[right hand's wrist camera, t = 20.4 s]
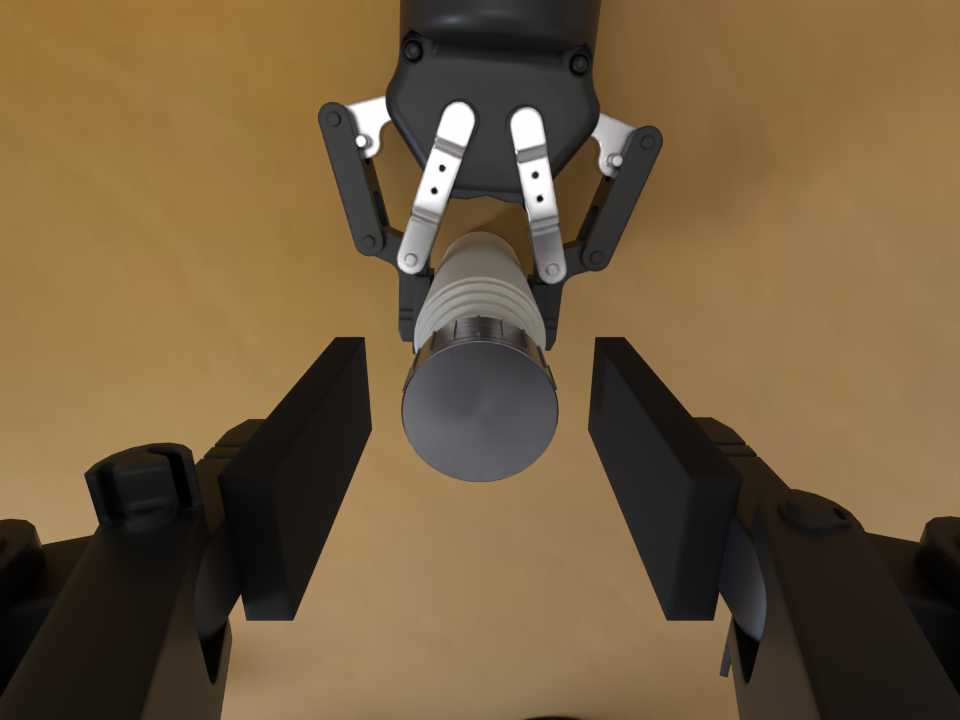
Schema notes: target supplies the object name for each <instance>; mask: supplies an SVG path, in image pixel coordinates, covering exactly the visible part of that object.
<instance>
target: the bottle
mask: <svg viewBox="0 0 960 720" xmlns="http://www.w3.org/2000/svg"><path fill="white" fill-rule="evenodd" d="M477 315H480V317H491V318H496V319H500V320H501V318H502V319H504V321H506V322H508V323H511V324H513V325H515V326H516V327H518V328H520V329H521V330H522V329H524V330H525V331H526V334H528V335H529V336H530V337H531V338H532V340H533V341H534V342H535V343H536V344H537V346H538V345H540V347H541V349H542V352H543V355H544V351H545V344H546V333H545V327H544V323H543V320H542V317H541V314H540V312H539V309H538V307H537V305H536V302H535V300H534V297H533V295H532V292H531V290H530V288H529V285H528V283H527V280H526V278H525V275H524V273H523V271H522V268H521V266H520V263H519V261H518V259H517V256H516V254H515V252H514V250H513V249H512V247H511V246H510V245H509V244H508V243H507V242H506V241H505V240H504V239H503V238H501V237H500V236H498V235H495V234H493V233H490V232H484V231H476V232H470V233H467V234H464V235H462V236H460V237H459V238H457V239H456V240H455V241H454V242H453V243H452V244H451V245H450V246H449V247H448V248H447V250H446V252H445V254H444V256H443V259H442V261H441V263H440V266H439V268H438V271H437V273H436V275H435V278H434V280H433V283H432V285H431V288H430V290H429V292H428V295H427V297H426V300H425V302H424V305H423V307H422V309H421V312H420V314H419V317H418V319H417V323H416V326H415V333H414V346H415V352H416V353H417V350H418V348H419V347H420V348H421V347H422V346H423V344H424V343H425V342H426V341H427V339H428V338H429V337H430V336H431V335H432V332H433V331H434V330H435V331H437V330H439V329H440V328H442V327H443V326H445V325H447V324H449V323H451V322H453V320H455V319H456V320H460V319H464V318H469V317H477Z"/></svg>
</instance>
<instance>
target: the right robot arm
mask: <svg viewBox="0 0 960 720" xmlns="http://www.w3.org/2000/svg"><path fill="white" fill-rule="evenodd" d="M371 431H372V423H371V411H370V399H369V386H368V374H367V362H366V350H365V337H335V339H334V340H333V341H332V342H331V343H330V345H329V346H328V347H327V348H326V349H325V350H324V352H323V353H322V354H321V355H320V356H319V357H318V359H317V360H316V361H315V362H314V363H313V364H312V366H311V367H310V368H309V369H308V370H307V372H306V373H305V374H304V375H303V376H302V377H301V379H300V380H299V381H298V382H297V383H296V384H295V386H294V387H293V388H292V389H291V390H290V391H289V393H288V394H287V395H286V396H285V397H284V399H283V400H282V401H281V402H280V403H279V404H278V406H277V407H276V408H275V409H274V410H273V411H272V413H271V414H270V415H269V416H268V417H267V418H266V419H248V420H246V421H245V422H243V423H241V424H239V425H237V426H236V427H234V428H232V429H230V430H229V431H227V432H226V433H225V434H224V435H223V436H222V437H221V439H220V440H219V441H218V442H217V443H216V444H215V447H212V448H211V449H210V450H209V451H208V452H207V453H206V454H205V455H204V459H200V460H199V461H198V463H197V464H196V465H195V464H194V459H193V455H192V450H190V449H189V448H187V447H186V446H184V445H181V444H175V443H153V444H147V445H142V446H138V447H133V448H130V449H127V450H124V451H121V452H118V453H115V454H113V455H111V456H109V457H107V458H105V459H103V460H101V461H99V462H98V463H96V464H94V465H93V466H92V467H91V468H90V469H89V470H88V471H87V472H86V473H85V474H84V476H85V479H86V482H87V485H88V489H89V492H90V495H91V498H92V501H93V505H94V508H95V511H96V514H97V518H98V521H99V526H98V528H97V530H96V531H95V533H94V535H91V536H86V537H81V538H75V539H70V540H65V541H60V542H55V543H49V544H44V545H41V542H40V539H39V536H38V534H37V531H36V528H35V526H34V525H33V524H31V523H30V522H28V521H27V520H18V519H6V520H0V720H220V719H221V712H222V705H223V699H224V692H225V685H226V679H227V672H228V665H229V659H230V652H231V645H232V633H231V627H230V622H229V618H228V616H229V614H230V612H231V610H232V609H233V607H234V605H235V603H236V602H237V600H238V598H239V596H240V594H241V596H242V601H243V606H244V610H245V615H246V620H247V621H293V620H294V617H295V615H296V612H297V610H298V608H299V605H300V603H301V600H302V598H303V595H304V593H305V591H306V588H307V586H308V583H309V581H310V578H311V576H312V574H313V571H314V569H315V566H316V564H317V562H318V559H319V557H320V554H321V552H322V549H323V547H324V545H325V542H326V540H327V537H328V535H329V532H330V530H331V528H332V525H333V523H334V520H335V518H336V515H337V513H338V511H339V508H340V506H341V503H342V501H343V499H344V496H345V494H346V491H347V489H348V486H349V484H350V482H351V479H352V477H353V474H354V472H355V469H356V467H357V465H358V462H359V460H360V457H361V455H362V452H363V450H364V448H365V445H366V443H367V440H368V438H369V436H370V433H371ZM588 431H589V433H590V436H591V438H592V440H593V443H594V445H595V448H596V450H597V452H598V455H599V457H600V460H601V462H602V465H603V467H604V469H605V472H606V474H607V477H608V479H609V482H610V484H611V486H612V489H613V491H614V494H615V496H616V499H617V501H618V503H619V506H620V508H621V511H622V513H623V515H624V518H625V520H626V523H627V525H628V528H629V530H630V532H631V535H632V537H633V540H634V542H635V545H636V547H637V549H638V552H639V554H640V557H641V559H642V562H643V564H644V566H645V569H646V571H647V574H648V576H649V578H650V581H651V583H652V586H653V588H654V591H655V593H656V595H657V598H658V600H659V603H660V605H661V608H662V610H663V612H664V615H665V617H666V620H667V621H713V620H714V615H715V610H716V606H717V601H718V596H719V592H720V593H721V595H722V597H723V599H724V601H725V602H726V604H727V606H728V608H729V609H730V611H731V613H732V618H731V622H730V627H729V631H728V636H727V640H726V645H725V649H724V654H723V658H722V663H721V670H720V676H724V677H728V673H729V668H730V665H731V664H732V671H733V677H734V684H735V691H736V697H737V704H738V710H739V717H740V720H960V518H959V517H952V516H948V517H937V518H933V519H932V520H931V521H929V522H928V523H926V525H925V528H924V531H923V534H922V536H921V539H920V542H913V541H908V540H903V539H898V538H893V537H887V536H882V535H877V534H872V533H868V532H865V530H864V529H863V527H862V525H861V523H860V522H859V521H858V520H857V519H856V518H855V517H854V516H853V515H852V513H851V512H849V511H848V510H846V509H845V508H843V507H842V506H840V505H839V504H837V503H835V502H833V501H831V500H829V499H826V498H824V497H822V496H819V495H817V494H813V493H809V492H805V491H801V490H797V489H790V488H789V487H788V486H787V485H786V484H785V483H784V482H783V481H782V480H781V479H780V478H779V477H778V476H777V475H776V474H775V472H774V471H773V470H772V469H771V468H770V467H769V466H768V465H767V464H766V463H765V462H764V461H763V460H762V459H761V458H760V457H757V454H756V453H755V452H754V451H753V450H752V449H751V448H750V447H749V446H748V445H746V442H745V441H744V440H743V439H742V438H741V437H740V436H739V435H738V434H737V433H736V432H735V431H734V430H733V429H732V428H730V427H728V426H726V425H724V424H722V423H721V422H719V421H717V420H715V419H713V418H712V417H692V416H691V415H690V414H689V413H688V411H687V410H686V409H685V408H684V407H683V406H682V404H681V403H680V402H679V401H678V400H677V399H676V397H675V396H674V395H673V394H672V393H671V391H670V390H669V389H668V388H667V387H666V386H665V384H664V383H663V382H662V381H661V380H660V379H659V377H658V376H657V375H656V374H655V373H654V372H653V370H652V369H651V368H650V367H649V366H648V364H647V363H646V362H645V361H644V360H643V359H642V357H641V356H640V355H639V354H638V353H637V352H636V350H635V349H634V348H633V347H632V346H631V345H630V343H629V342H628V341H627V340H626V339H625V337H595V350H594V362H593V374H592V386H591V399H590V411H589V423H588ZM549 720H557V719H549Z"/></svg>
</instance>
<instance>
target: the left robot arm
mask: <svg viewBox="0 0 960 720" xmlns="http://www.w3.org/2000/svg"><path fill="white" fill-rule="evenodd" d="M600 5H601V0H400V50H399V60H398V64H397V68H396V71H395V73H394V75H393V77H392V79H391V81H390V83H389V85H388V87H387V90H386V96H382V97H378V98H373V99H369V100H365V101H361V102H357V103H353V104H349V105H343V104H339V103H336V102H329V103H326V104H324V105H323V106H322V107H321V109H320V111H319V114H318V121H319V125H320V128H321V132H322V135H323V138H324V142H325V145H326V149H327V152H328V155H329V159H330V162H331V165H332V169H333V172H334V176H335V179H336V182H337V186H338V189H339V193H340V196H341V199H342V203H343V206H344V210H345V213H346V216H347V220H348V223H349V227H350V230H351V233H352V237H353V240H354V244H355V246H356V248H357V250H358V251H359V252H360V253H361V254H363V255H365V256H376V257H378V258H380V259H382V260H385V261H387V262H389V263H391V264H392V265H393V266H394V267H395V268H396V269H397V271H398V274H399V333H400V335H401V338H402V341H407V342H413V354H416V352H415V346H414V333H415V326H416V323H417V319H418V317H419V314H420V312H421V309H422V307H423V305H424V302H425V300H426V297H427V295H428V292H429V290H430V288H431V285H432V283H433V280H434V272H435V268H430V257H431V251H432V248H433V245H434V242H435V240H436V237H437V234H438V231H439V229H440V226H441V223H442V220H443V218H444V215H445V213H446V210H447V207H448V205H449V202H450V199H451V198H456V199H471V198H476V197H481V196H490V197H493V198H496V199H498V200H501V201H504V202H511V203H520V205H521V210H522V214H523V219H524V223H525V227H526V231H527V236H528V240H529V245H530V250H531V255H532V260H533V264H534V266H533V275H530V274H528V278H527V283H528V285H529V288H530V290H531V292H532V295H533V297H534V300H535V302H536V305H537V307H538V309H539V312H540V314H541V317H542V320H543V323H544V327H545V333H546V344H545V350H547V351H550V350H551V348H552V346H553V344H554V343H555V341H556V334H557V326H558V318H559V310H560V302H561V294H562V288H563V285H564V283H565V282H566V281H567V280H568V279H569V278H570V277H572V276H574V275H577V274H580V273H584V272H587V271H595V272H596V271H601V270H603V269H604V268H606V267H607V265H608V264H609V262H610V260H611V258H612V256H613V253H614V251H615V249H616V247H617V244H618V242H619V240H620V238H621V236H622V233H623V231H624V229H625V227H626V225H627V222H628V220H629V218H630V216H631V214H632V211H633V209H634V207H635V205H636V203H637V200H638V198H639V196H640V194H641V192H642V189H643V187H644V185H645V183H646V181H647V178H648V176H649V174H650V172H651V170H652V167H653V165H654V163H655V161H656V159H657V156H658V154H659V152H660V150H661V147H662V144H663V137H662V134H661V132H660V131H659V130H658V129H657V128H656V127H653V126H644V127H640V128H636V127H634V126H631V125H629V124H626V123H624V122H622V121H619V120H617V119H614V118H612V117H610V116H607V115H605V114H603V113H600V105H599V101H598V98H597V96H596V93H595V89H594V85H593V77H592V70H593V60H594V52H595V44H596V36H597V29H598V21H599V13H600ZM391 123H393V124H394V125H395V127H396V128H397V130H398V132H399V133H400V135H401V137H402V138H403V140H404V141H405V143H406V145H407V146H408V148H409V149H410V151H411V153H412V154H413V156H414V157H415V159H416V161H417V162H418V164H419V166H420V167H421V169H422V170H423V172H424V174H423V177H422V180H421V183H420V186H419V189H418V192H417V195H416V198H415V201H414V204H413V207H412V210H411V215H410V219H409V222H408V225H407V228H406V231H405V233H403V232H401V231H399V230H397V229H394V228H392V227H390V223H389V220H388V216H387V212H386V208H385V205H384V201H383V197H382V194H381V190H380V186H379V182H378V179H377V175H376V171H375V167H374V164H373V160H372V158H375V157H377V156H378V155H380V153H381V152H382V150H383V147H384V142H383V134H384V131H385V129H386V127H387V126H388V125H389V124H391ZM588 138H589V139H591V140H592V141H593V143H594V145H595V148H596V155H595V158H594V166H595V169H596V171H597V172H598V173H599V174H601V175H603V177H602V179H601V181H600V184H599V186H598V188H597V191H596V193H595V196H594V198H593V200H592V203H591V205H590V207H589V210H588V212H587V214H586V217H585V219H584V221H583V224H582V226H581V229H580V231H579V233H578V236H577V238H576V240H575V241H571V242H568V243H564V244H562V240H561V234H560V228H559V224H560V223H559V215H558V209H557V204H556V198H555V193H554V187H553V182H552V181H553V180H554V179H555V178H556V176H557V175H558V174H559V173H560V172H561V171H562V169H563V168H564V167H565V166H566V165H567V163H568V162H569V161H570V160H571V159H572V157H573V156H574V155H575V154H576V153H577V151H578V150H579V149H580V148H581V147H582V146H583V144H584V143H585V142H586V141H587V140H588Z"/></svg>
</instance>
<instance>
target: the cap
mask: <svg viewBox="0 0 960 720" xmlns="http://www.w3.org/2000/svg"><path fill="white" fill-rule="evenodd" d="M555 390H557V387H556V384H555V381H554V378H553V375H552V372H551V370H550V367H549V365H547V364H546V361H545V358H544V355H543V352H542V349H541V347H540V345H538V346H537V344H536V343H535V342H534V341H533V340H532V338H531V337H530V336H529V335H528V334H526V331H525V330H524V329H522V330H521V329H520V328H518V327H516V326H515V325H513V324H511V323H508V322H506V321H504V319H502V318H501V320H500V319H496V318H491V317H480V315H477V317H469V318H464V319H460V320H456V319H455V320H453V322H451V323H449V324H447V325H445V326H443V327H442V328H440V329H439V330H437V331H435V330H434V331H433V332H432V335H431V336H430V337H429V338H428V339H427V341H426V342H425V343H424V344H423V346H422V347H421V348H420V347H419V348H418V350H417V353H416V356H415V358H414V361H413V364H412V367H411V368H410V370H409V373H408V376H407V379H406V382H405V385H404V387H403V391H402V393H404V395H403V399H402V406H401V411H402V422H403V427H404V430H405V434H406V436H407V438H408V440H409V442H410V444H411V445H412V447H413V449H414V450H415V451H416V453H417V454H418V455H419V456H420V457H421V458H422V459H423V460H424V461H425V462H426V463H427V464H428V465H430V466H431V467H433V468H434V469H435V470H437V471H439V472H441V473H443V474H445V475H447V476H450V477H452V478H456V479H460V480H464V481H471V482H488V481H495V480H501V479H504V478H507V477H510V476H512V475H515V474H517V473H519V472H521V471H523V470H524V469H526V468H527V467H529V466H530V465H531V464H533V463H534V462H535V461H536V460H537V459H538V458H539V457H540V456H541V455H542V454H543V452H544V451H545V450H546V449H547V447H548V445H549V444H550V442H551V440H552V438H553V436H554V433H555V430H556V426H557V423H558V413H559V412H558V400H557V395H556V392H555Z"/></svg>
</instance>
